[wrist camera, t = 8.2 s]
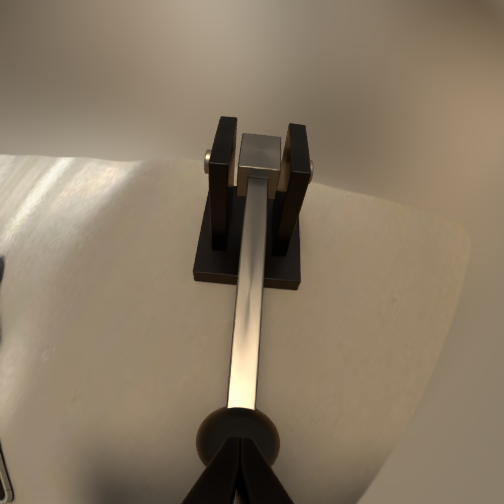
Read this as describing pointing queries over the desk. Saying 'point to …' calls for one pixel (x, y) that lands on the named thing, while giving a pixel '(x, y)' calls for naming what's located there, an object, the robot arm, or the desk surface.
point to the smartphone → (4, 485)
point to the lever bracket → (232, 208)
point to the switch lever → (248, 308)
